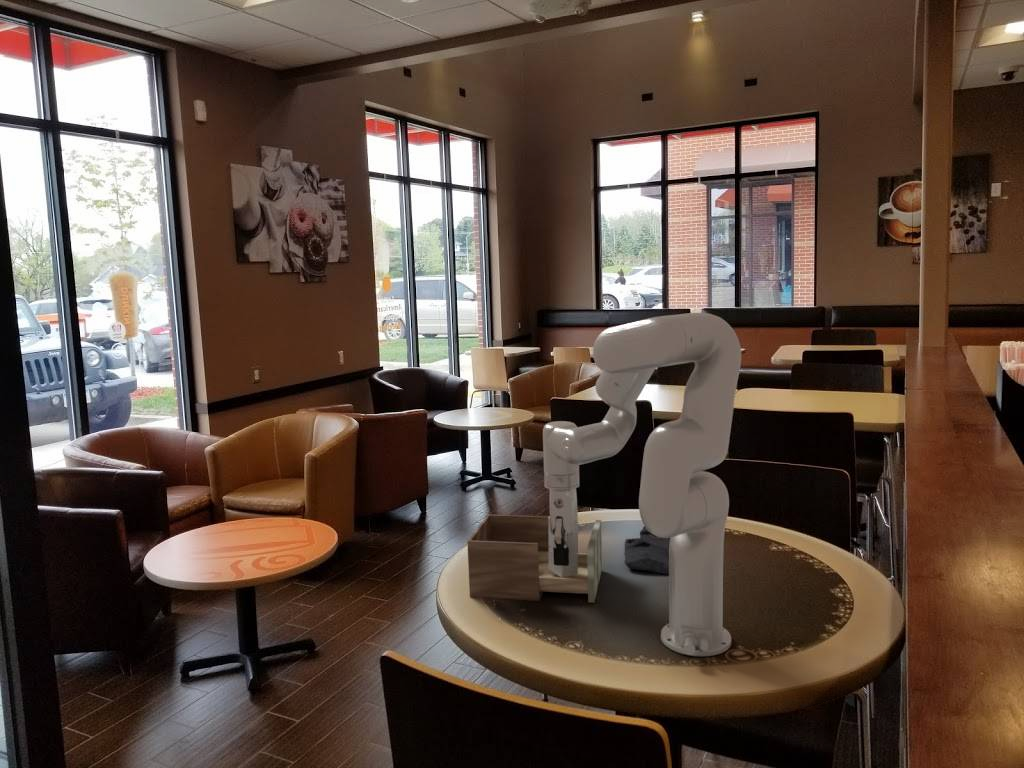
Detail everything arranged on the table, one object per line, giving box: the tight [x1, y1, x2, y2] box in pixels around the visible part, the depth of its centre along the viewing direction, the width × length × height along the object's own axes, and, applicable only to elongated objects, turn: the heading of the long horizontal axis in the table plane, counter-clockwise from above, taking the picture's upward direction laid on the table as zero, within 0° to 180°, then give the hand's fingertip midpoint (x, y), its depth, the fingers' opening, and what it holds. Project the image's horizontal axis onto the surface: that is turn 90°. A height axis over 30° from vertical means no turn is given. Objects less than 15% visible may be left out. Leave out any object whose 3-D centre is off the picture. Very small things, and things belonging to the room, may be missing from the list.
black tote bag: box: [623, 526, 671, 576], centre depth 181 cm, size 15×22×5 cm
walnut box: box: [466, 513, 550, 602], centre depth 168 cm, size 18×15×12 cm
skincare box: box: [548, 516, 579, 577], centre depth 165 cm, size 6×4×12 cm
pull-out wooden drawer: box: [538, 519, 603, 604], centre depth 166 cm, size 18×15×12 cm
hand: (564, 557), depth 166 cm, fingers closed on skincare box, 7 cm apart
